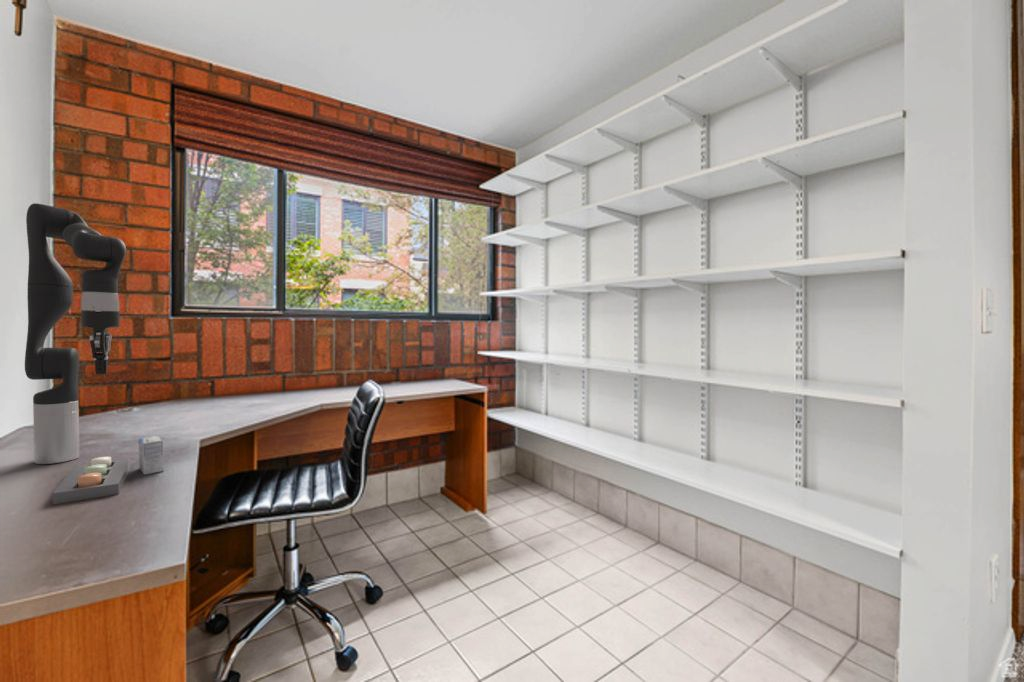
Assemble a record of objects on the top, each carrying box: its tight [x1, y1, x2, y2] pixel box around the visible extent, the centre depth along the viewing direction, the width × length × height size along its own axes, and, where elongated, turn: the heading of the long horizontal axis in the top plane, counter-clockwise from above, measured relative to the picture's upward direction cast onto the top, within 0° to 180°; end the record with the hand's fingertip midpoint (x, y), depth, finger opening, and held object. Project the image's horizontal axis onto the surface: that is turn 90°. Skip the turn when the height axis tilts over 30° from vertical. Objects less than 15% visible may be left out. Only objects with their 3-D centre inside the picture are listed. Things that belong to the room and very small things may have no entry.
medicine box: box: [138, 435, 165, 475], centre depth 122 cm, size 8×4×9 cm, turn 47°
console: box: [52, 458, 131, 505], centre depth 111 cm, size 24×11×2 cm, turn 36°
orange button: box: [78, 473, 101, 488], centre depth 104 cm, size 4×4×3 cm
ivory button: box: [90, 456, 112, 467], centre depth 117 cm, size 4×4×3 cm
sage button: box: [85, 464, 107, 476], centre depth 111 cm, size 4×4×3 cm
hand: (101, 373), depth 118 cm, fingers closed
